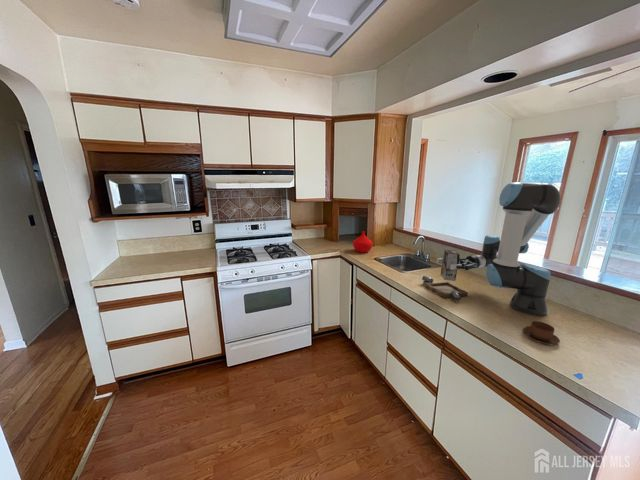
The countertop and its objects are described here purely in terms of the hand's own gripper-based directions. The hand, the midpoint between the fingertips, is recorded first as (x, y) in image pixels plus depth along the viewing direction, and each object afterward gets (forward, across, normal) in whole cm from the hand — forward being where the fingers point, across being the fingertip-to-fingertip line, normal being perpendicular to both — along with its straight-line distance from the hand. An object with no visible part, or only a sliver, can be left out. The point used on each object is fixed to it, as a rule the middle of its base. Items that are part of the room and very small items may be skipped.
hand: (443, 263), depth 146 cm
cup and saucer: (-9, -49, -18) cm, 53 cm away
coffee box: (-4, 0, -9) cm, 10 cm away
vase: (+9, +94, -19) cm, 96 cm away
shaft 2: (0, -12, -18) cm, 21 cm away
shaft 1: (0, +11, -18) cm, 21 cm away
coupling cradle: (-4, 0, -18) cm, 18 cm away
